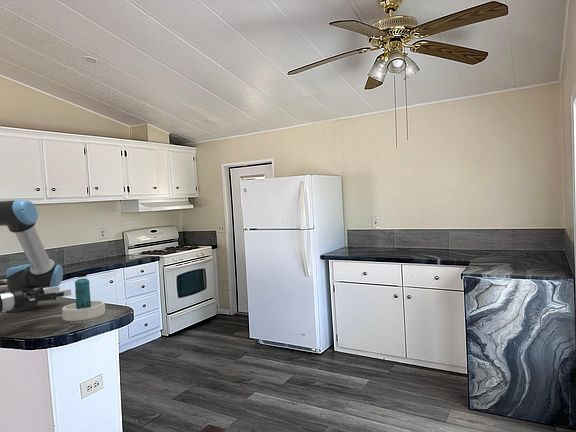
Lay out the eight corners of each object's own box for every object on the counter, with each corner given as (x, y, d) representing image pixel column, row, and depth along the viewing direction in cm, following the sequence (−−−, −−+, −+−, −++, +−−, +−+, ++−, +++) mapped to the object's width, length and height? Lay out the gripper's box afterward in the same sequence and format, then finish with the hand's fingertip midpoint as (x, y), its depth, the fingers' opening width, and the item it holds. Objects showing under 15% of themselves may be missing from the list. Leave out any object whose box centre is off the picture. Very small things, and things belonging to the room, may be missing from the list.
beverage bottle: (77, 312, 200) (74, 271, 200) (92, 310, 203) (89, 270, 202) (75, 316, 194) (72, 273, 194) (91, 314, 197) (88, 272, 196)
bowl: (57, 317, 198) (56, 307, 198) (95, 308, 211) (94, 299, 211) (72, 323, 186) (71, 312, 186) (111, 313, 199) (110, 303, 199)
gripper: (4, 305, 185) (55, 295, 201) (22, 313, 168) (76, 301, 184) (2, 289, 184) (54, 280, 200) (20, 294, 168) (75, 285, 184)
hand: (64, 290), depth 192 cm, fingers open, 13 cm apart
